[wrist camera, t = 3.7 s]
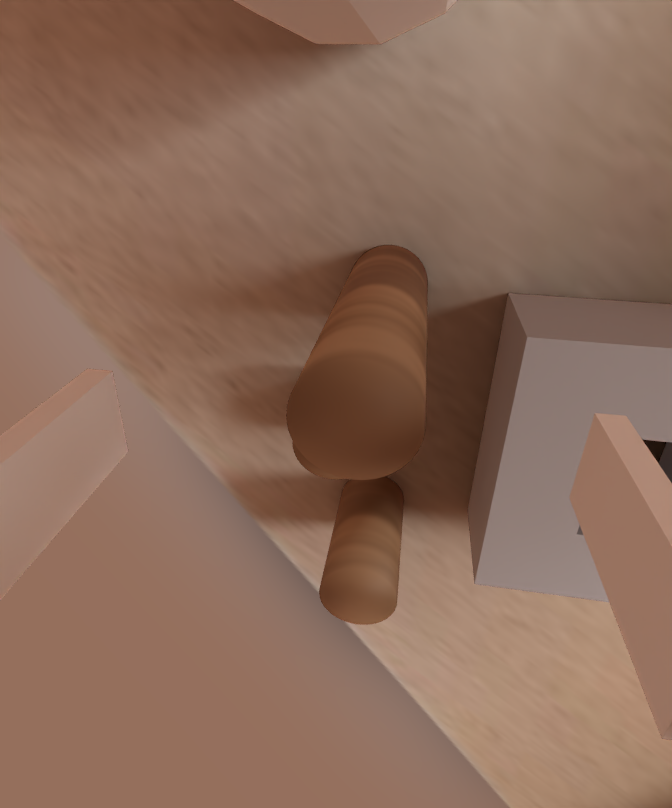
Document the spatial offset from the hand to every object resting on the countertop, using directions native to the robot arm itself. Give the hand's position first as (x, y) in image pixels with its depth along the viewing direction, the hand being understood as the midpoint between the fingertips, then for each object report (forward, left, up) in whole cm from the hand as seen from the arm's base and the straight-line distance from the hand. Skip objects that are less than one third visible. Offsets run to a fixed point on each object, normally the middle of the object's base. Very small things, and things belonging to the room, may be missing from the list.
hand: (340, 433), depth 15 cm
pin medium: (+14, 0, -15) cm, 20 cm away
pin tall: (0, 0, -15) cm, 15 cm away
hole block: (+7, +13, -15) cm, 21 cm away
